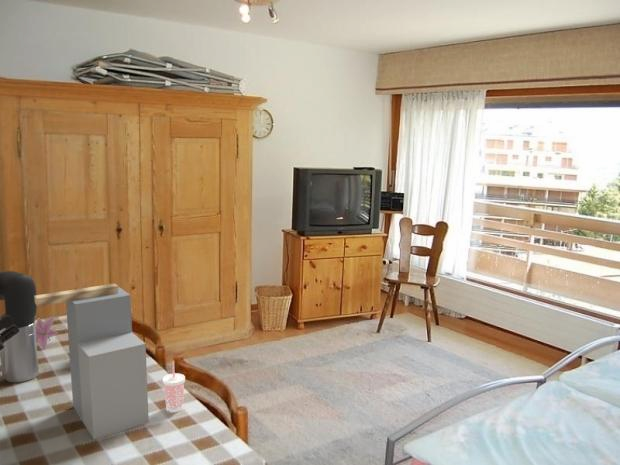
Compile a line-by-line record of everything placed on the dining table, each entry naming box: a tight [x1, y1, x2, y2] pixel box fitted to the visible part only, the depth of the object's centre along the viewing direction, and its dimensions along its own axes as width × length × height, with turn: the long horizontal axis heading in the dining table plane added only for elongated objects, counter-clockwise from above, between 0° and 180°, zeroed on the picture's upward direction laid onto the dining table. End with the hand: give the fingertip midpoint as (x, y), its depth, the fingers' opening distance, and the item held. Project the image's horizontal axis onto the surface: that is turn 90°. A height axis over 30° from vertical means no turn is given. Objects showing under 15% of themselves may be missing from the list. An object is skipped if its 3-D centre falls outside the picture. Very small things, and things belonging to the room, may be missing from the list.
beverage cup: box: [162, 360, 186, 413], centre depth 147 cm, size 6×6×14 cm
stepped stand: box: [65, 286, 150, 440], centre depth 141 cm, size 14×20×32 cm
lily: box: [35, 316, 59, 351], centre depth 190 cm, size 12×12×10 cm
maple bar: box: [34, 283, 119, 307], centre depth 139 cm, size 20×3×2 cm, turn 127°
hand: (13, 322), depth 130 cm, fingers open, 8 cm apart
